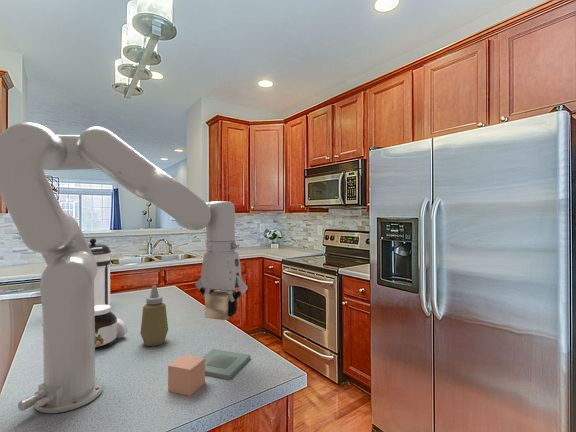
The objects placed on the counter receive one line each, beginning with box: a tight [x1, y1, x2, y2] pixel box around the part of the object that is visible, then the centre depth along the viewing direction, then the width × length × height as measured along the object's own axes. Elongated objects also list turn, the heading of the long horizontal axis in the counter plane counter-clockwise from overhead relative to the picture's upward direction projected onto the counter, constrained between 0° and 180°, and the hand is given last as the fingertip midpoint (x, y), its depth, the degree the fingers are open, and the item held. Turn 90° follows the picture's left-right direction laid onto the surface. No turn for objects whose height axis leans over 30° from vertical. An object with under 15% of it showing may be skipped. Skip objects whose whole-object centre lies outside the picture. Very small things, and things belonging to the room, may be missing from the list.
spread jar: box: [94, 305, 128, 351], centre depth 101 cm, size 12×11×12 cm
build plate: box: [201, 348, 251, 380], centre depth 87 cm, size 12×12×1 cm
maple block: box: [204, 290, 231, 321], centre depth 87 cm, size 6×6×6 cm
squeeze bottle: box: [140, 284, 169, 347], centre depth 101 cm, size 8×8×18 cm
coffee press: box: [88, 238, 116, 306], centre depth 131 cm, size 17×16×30 cm
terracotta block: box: [167, 354, 206, 397], centre depth 77 cm, size 6×6×6 cm
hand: (221, 313), depth 87 cm, fingers closed on maple block, 6 cm apart
